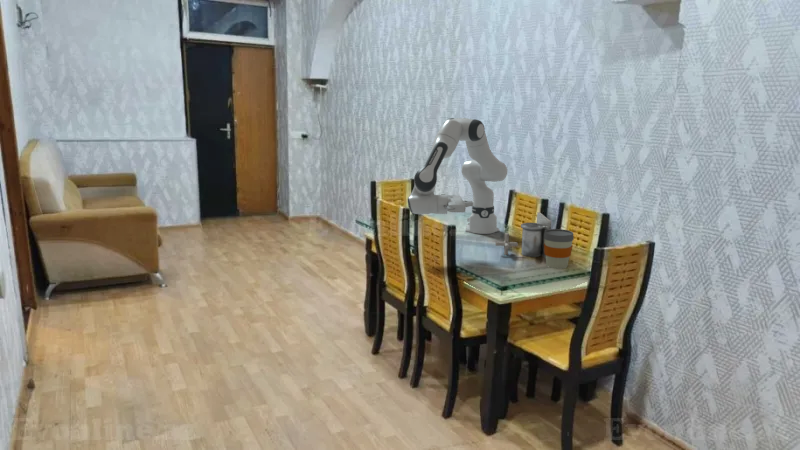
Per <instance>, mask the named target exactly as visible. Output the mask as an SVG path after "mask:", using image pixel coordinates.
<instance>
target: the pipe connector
mask: <svg viewBox="0 0 800 450" xmlns="http://www.w3.org/2000/svg"><path fill="white" fill-rule="evenodd" d="M509 237H510V233H509V232H506V233H504V241H496V242H495V247H496V246H497V247H500V246H502V247H504V248H503V249H504V252H503V254H504V255H505V256H508V255H509V249H510V247H518V242H515V241H514V242H513V241H509V239H510V238H509Z"/></svg>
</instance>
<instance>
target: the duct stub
mask: <svg viewBox="0 0 800 450" xmlns="http://www.w3.org/2000/svg"><path fill="white" fill-rule="evenodd" d="M536 215H537V216H536V222H523V223H521V224H520V228H522V234H521V236H522V237H521V255H522V256H524V257H530V258H537V257H540V256H542V257H543V258H544V259H545V260H546V255H545V252H544V243H545V239H544V233H545V231H546V230H549V229H552V221H551V220H550V219H549V218H547V217H546V216H545V215H544V214H543V213H541V212H540V211H539V212H537V214H536Z"/></svg>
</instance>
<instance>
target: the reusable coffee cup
mask: <svg viewBox="0 0 800 450" xmlns="http://www.w3.org/2000/svg"><path fill="white" fill-rule="evenodd" d="M544 239H545V243H544V252H545V255H546V259H545V261H546V264H545V265H546V267H549V268H550V269H551V268H552V269H559V270H560V269H566V268H568V266H569V260H570V257H571V256H572V252H573V251H572V249H573V241H574V240H575V238H574V232H573V231H572V230H567V229H562V228H561V229H560V228H559V229H558V228H551V229H549V230H546V231H545V233H544Z"/></svg>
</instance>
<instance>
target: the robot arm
mask: <svg viewBox="0 0 800 450" xmlns="http://www.w3.org/2000/svg"><path fill="white" fill-rule="evenodd" d="M459 141H461V142H465V146H466V148H467V153H468V156H469V157H470V158H471V159H470V160H466V161H464V163H463V164H462V165H461V174H462V176H463V177H464V179H466V180H467V182H468V183H469V185H470V187H471V188H470V189H471V190H472V200H463V198H462V196H460V195H454V194H453V195H451V194H450V195H449V194H448V195H447V194H446V193H445V194H444V193H442V194H435V192H436V191H435V190H436V184H437V180H438V174H437V173H438V170H439V168H440V167H441V164H442V162H443V160H444V159H447V158H450V157H451V156H452V155H453V154H454V152H455V151H456V149H457V147H458V144H459ZM507 176H508V167H507V165H506V164H505V163H504V162H502V161H501V160H500V159H498V158H497V157H496V156H495V155H494V153H493V152H492V149H490V145H489V142H488V136H487V133H486V131H485V126H484V123H483V122H482V121H481V120H479V119H476V118H474V119H473V118H472V119H471V118H468V117H467V118H466V117H463V118H462V117H459V118H458V117H457V118H454V117H451V118H447V119H445V121H444V122H443V123H442V125H441V126H440V128H439V130H438V132H437V133H436V136H435V137H434V140H433V143H432V147H431V152H430V154H429V156H428V158H427V159H426V162H425V163H424V165H423V166H422V167H421V168H419V169H418V171H416V173H415V174H414V177H413V181H414V186H413V189H412V191H411V193H410V195H409V196H408V197H407V206H408V209H409V211H410V213H412V214H414V215H415V214H416V215H429V214H435V215H445V214H446V215H447V214H448V212H449V213H466V208H469V207H471V215H469V217H467V221H466V222H468V223H467V224H466V227H465V232H467V233H473V234H479V235H486V234H487V235H488V234H494V233H496V232H500V231H501V230H500V228H498V221H497V218H498V217H497V216H496V215H495V206H494V198H495V197H494V194H495V193H494V191H493V190H492V189H491V188H490V187H489V186H488V185H487V183H486V182H491V183H492V182H493V183H495V182H502V181H504V180H505V179H506V177H507Z"/></svg>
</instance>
